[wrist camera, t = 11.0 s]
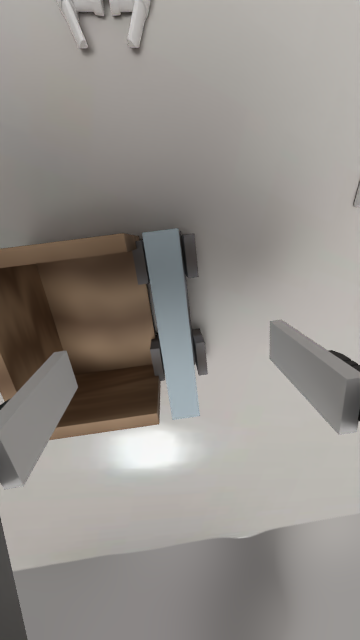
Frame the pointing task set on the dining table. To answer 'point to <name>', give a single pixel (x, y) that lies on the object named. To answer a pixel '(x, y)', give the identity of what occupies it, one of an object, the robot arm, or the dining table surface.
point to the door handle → (72, 3)
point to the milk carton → (357, 198)
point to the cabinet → (88, 327)
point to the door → (172, 319)
